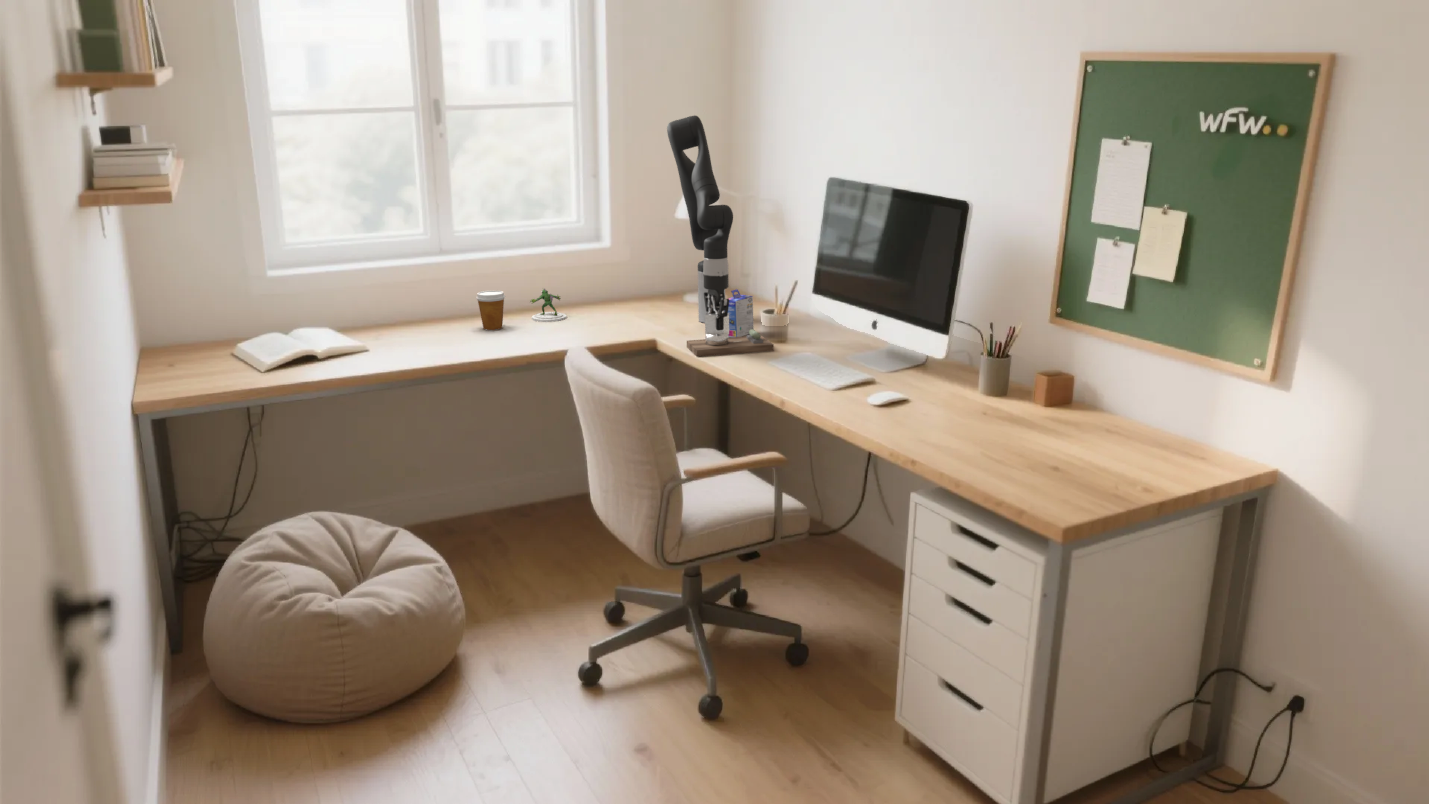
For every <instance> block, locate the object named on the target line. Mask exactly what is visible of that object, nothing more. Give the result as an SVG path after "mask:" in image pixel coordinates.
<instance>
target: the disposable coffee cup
mask: <svg viewBox="0 0 1429 804" xmlns="http://www.w3.org/2000/svg"><path fill="white" fill-rule="evenodd" d="M505 297H506V295H505V293H504V291H502V290H484V291H482V290H481V291H479V292H477V293H476V297H475V298H476V301H477V304H478V309H479V315H480V318H481V323H482V327H483V330H485V329H487V330H488V331H495V329H497V330H501V329H502V328H503V323H504V321H503V320H504V306H505V305H504V304H505ZM487 330H486V331H487Z"/></svg>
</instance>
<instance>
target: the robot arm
mask: <svg viewBox="0 0 1429 804" xmlns="http://www.w3.org/2000/svg"><path fill="white" fill-rule="evenodd" d="M666 131H667V132H666V133H667V137H668V142H669V144H670V147H671V150H672V154H673V157H674V161H675V165H676V168H677V172H678V177H679V182H680V186H681V191H682V195H683V198H684V201H685V202H684V203H685V206H686V210H687V215H688V219H689V226H690V232H691V233H690V234H691V239H692V244H693V246H694V248H695V250H698V251H703V260H701V261H699V262H698V263H697V295H698V296H697V298H698V299H697V301H698V303H697V305H698V306H697V307H698V313H697V314H698V321H699V322H700V323H704V324H705V314H716V330H723V329H724V317H727V314H728V307H729V299H728V298H726V289H728V288H729V286H730V285H729V278H730V277H729V260H728V242H729V237H730V232H731V229H732V225H733V222H734V213H733V210H732V208H731V206H729V205H727V204H716V203H717V202H718V201H719V199H720V197H721V193H720V190H719V186H718V183H717V181H716V177H715V175H714V170H713V165H712V160H711V154H710V149H709V145H708V140H707V135H706V131H705V128H704V125H703V122H702V120H701V118H700V117H699V116H698V115H695V114H694V115H690V116H687V117H682V118H679V119H676V120H673V121H671V122H670V121H669V122H668V124H667V126H666ZM695 147H697V149H698V151H697V157H696V161H695V162H694V161H693V160H692V159H690V157H688V155H687V154H686V152H685V150H689V149H692V148H695ZM724 310H725V312H724Z"/></svg>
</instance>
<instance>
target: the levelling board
mask: <svg viewBox="0 0 1429 804" xmlns="http://www.w3.org/2000/svg"><path fill="white" fill-rule="evenodd" d="M686 348H687V349H688V350H689V351H690V352H691V353H692V354H693V356H696V358H697V357H698V358H699V357H708V356H709V357H711V356H724V355H735V354H736V355H737V354H750V353H751V354H752V353H762V352H763V353H764V352H773V351H774V348H775V347H774V344H773V343H772V342H771V341H770V340H768V339H767V338H765V337H764V336H763V335H762V334H760V333H759V332H758V331H756V330H755V329H751V330H750V331H749V334H747V335H744V336H741V337H728V344H727V345H722V346H711V345H707V344H706V341H705V339H704V338H703V339H693V340H691V339H690V340H686Z"/></svg>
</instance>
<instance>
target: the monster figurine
mask: <svg viewBox="0 0 1429 804" xmlns="http://www.w3.org/2000/svg"><path fill="white" fill-rule="evenodd" d="M553 299H556V300H558V301H561V296H559V294H557V295H555V294H552V293H549V291H548V290H547V289H546V288H544V287H543V289H542V290H541V294H540V295H539V297H537V298H536V299H535V298H532V299H530V300H529V301H530V302H529V303H531V304H534V303H536V302H538V301H540V300H543V302H544V303H543V304H541V305H542V306H541V310H542V311H541V312H540V313H536V314H533V315H532V316H531V320H532V321H534V322H537V321H538V322H539V323H553V322H560V321H564V320H566V319H567V314H566V313H563V312H557V310H556V308H555V306H554V305H553ZM548 306H549V307H550V308H551V309H552V310H553V311H545V308H546V307H548Z"/></svg>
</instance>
